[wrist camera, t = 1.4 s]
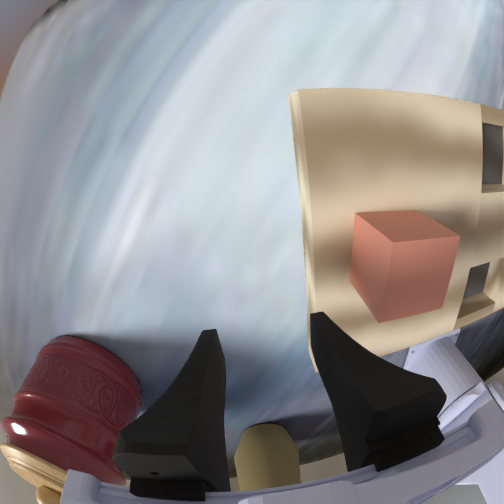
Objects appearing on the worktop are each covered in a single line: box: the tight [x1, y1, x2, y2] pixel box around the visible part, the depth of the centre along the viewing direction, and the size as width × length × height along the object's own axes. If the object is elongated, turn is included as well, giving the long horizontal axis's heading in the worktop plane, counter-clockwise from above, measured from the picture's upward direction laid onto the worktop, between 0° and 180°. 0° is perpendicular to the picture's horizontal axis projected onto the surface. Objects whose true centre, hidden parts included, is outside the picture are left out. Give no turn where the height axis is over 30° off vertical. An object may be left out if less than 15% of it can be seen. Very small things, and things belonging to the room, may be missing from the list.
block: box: [349, 210, 460, 323], centre depth 16 cm, size 5×5×5 cm
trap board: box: [288, 88, 504, 373], centre depth 20 cm, size 22×37×4 cm, turn 98°
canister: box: [0, 336, 142, 504], centre depth 18 cm, size 13×13×18 cm
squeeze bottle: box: [234, 424, 301, 491], centre depth 24 cm, size 8×8×18 cm
